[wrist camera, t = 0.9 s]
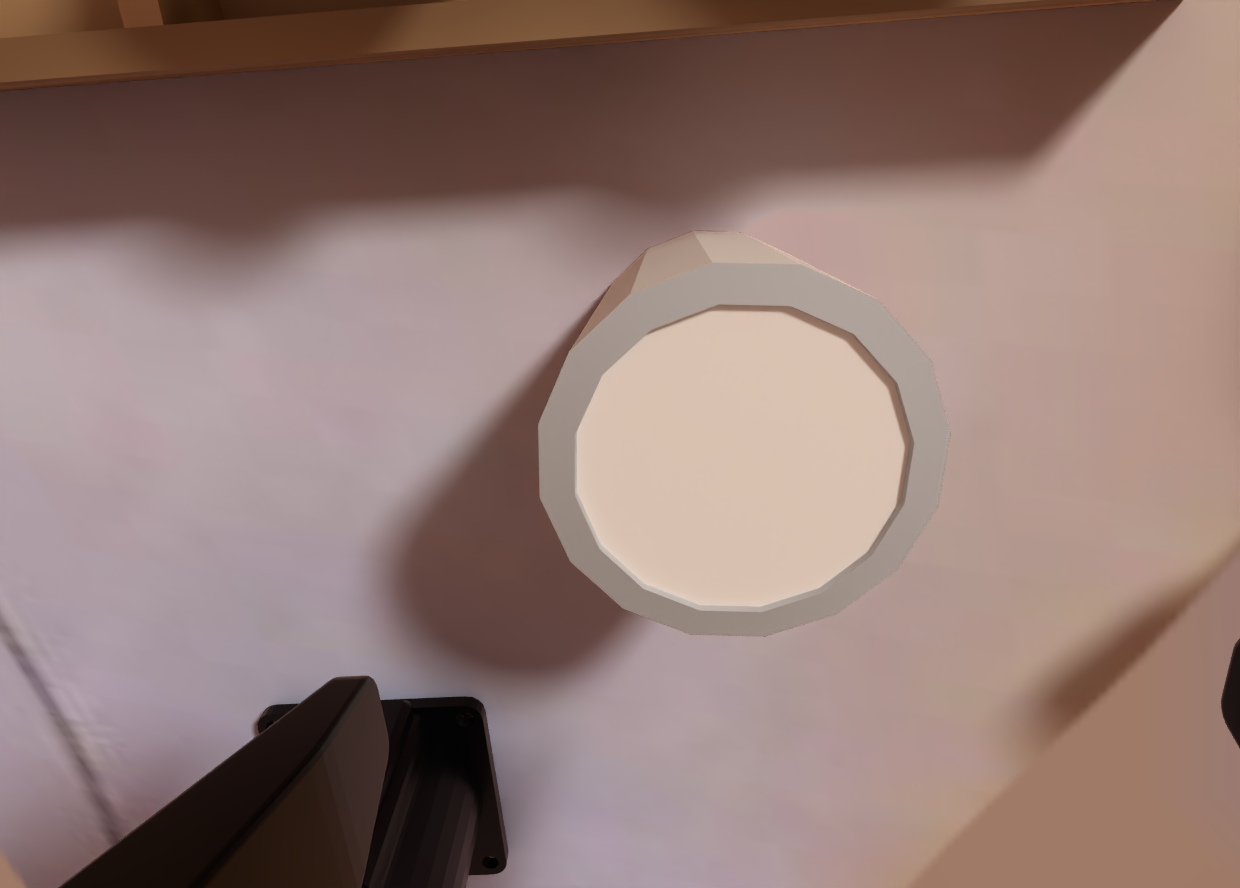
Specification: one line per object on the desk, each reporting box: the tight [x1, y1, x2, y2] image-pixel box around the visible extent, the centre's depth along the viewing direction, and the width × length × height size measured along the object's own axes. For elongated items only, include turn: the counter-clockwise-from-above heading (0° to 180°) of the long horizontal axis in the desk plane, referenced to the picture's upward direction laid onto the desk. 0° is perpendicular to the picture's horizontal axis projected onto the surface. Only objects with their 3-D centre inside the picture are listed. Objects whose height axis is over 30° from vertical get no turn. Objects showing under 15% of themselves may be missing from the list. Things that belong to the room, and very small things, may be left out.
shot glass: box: [538, 231, 951, 637], centre depth 17 cm, size 7×7×7 cm
